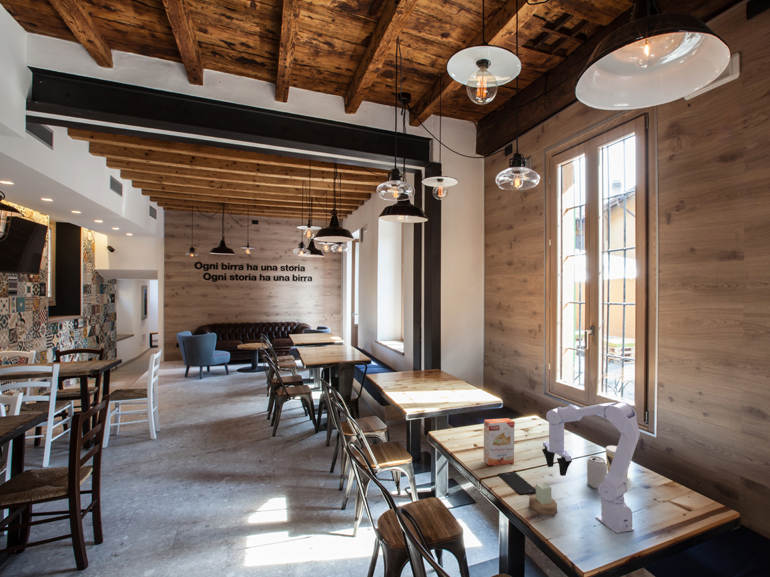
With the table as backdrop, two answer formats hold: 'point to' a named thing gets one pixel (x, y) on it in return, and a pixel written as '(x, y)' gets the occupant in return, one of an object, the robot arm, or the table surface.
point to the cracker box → (499, 441)
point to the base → (542, 506)
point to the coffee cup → (610, 456)
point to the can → (596, 471)
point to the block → (543, 493)
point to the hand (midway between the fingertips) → (556, 470)
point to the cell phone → (517, 483)
